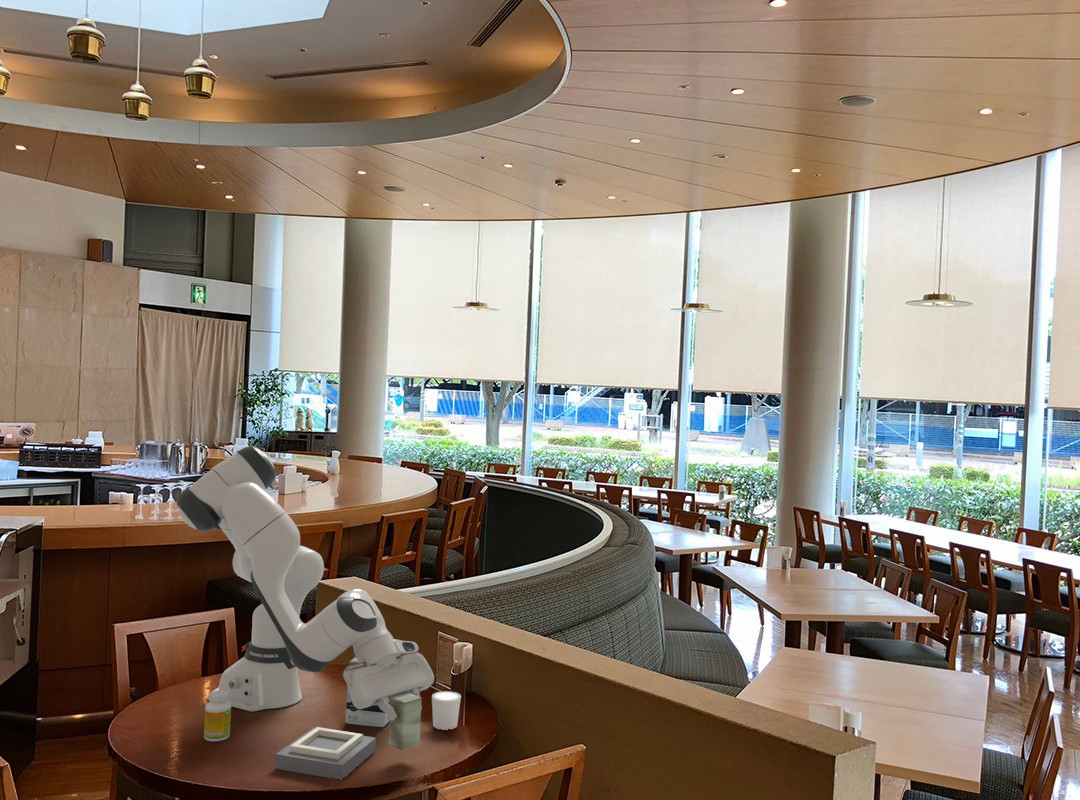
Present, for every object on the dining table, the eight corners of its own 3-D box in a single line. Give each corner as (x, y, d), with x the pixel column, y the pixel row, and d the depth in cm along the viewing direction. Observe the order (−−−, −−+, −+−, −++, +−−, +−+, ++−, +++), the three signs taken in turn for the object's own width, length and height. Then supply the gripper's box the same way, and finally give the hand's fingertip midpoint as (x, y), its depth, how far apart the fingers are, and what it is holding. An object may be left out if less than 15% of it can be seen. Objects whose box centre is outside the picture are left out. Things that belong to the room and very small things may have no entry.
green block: (388, 744, 183) (390, 696, 183) (405, 738, 186) (407, 691, 186) (402, 750, 180) (404, 702, 180) (419, 744, 183) (421, 697, 183)
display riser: (275, 768, 177) (275, 748, 177) (313, 741, 191) (313, 722, 191) (341, 780, 173) (342, 759, 173) (375, 751, 187) (376, 732, 187)
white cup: (454, 732, 200) (456, 702, 200) (426, 728, 201) (427, 698, 201) (463, 721, 206) (464, 692, 206) (435, 718, 208) (437, 689, 208)
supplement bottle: (227, 741, 189) (229, 697, 189) (201, 742, 188) (203, 697, 188) (231, 732, 194) (233, 689, 194) (206, 732, 193) (208, 689, 193)
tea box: (386, 728, 200) (388, 664, 200) (344, 724, 202) (346, 661, 202) (404, 706, 215) (406, 646, 215) (365, 702, 217) (367, 643, 217)
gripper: (347, 660, 180) (374, 720, 173) (421, 641, 195) (450, 695, 189) (333, 676, 183) (360, 735, 176) (408, 656, 198) (435, 710, 192)
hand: (407, 715), depth 183 cm, fingers closed on green block, 5 cm apart
